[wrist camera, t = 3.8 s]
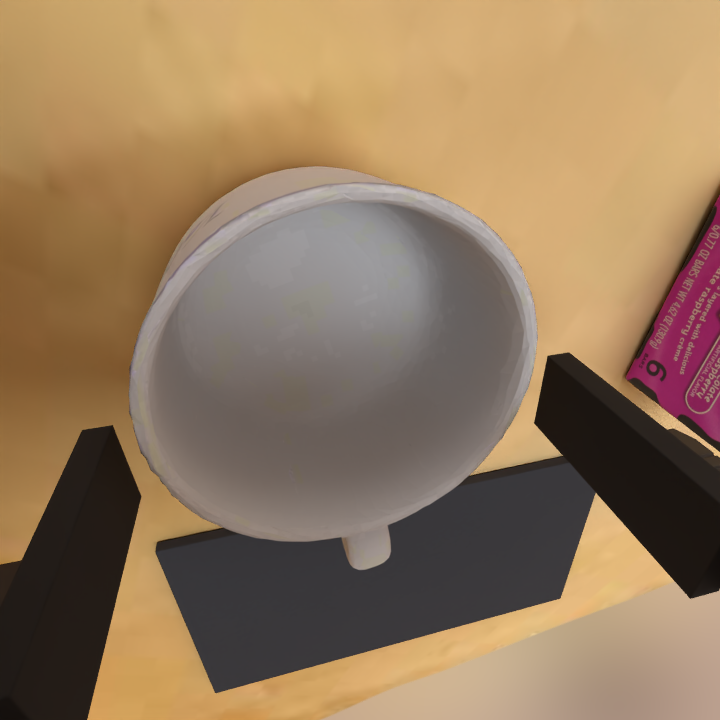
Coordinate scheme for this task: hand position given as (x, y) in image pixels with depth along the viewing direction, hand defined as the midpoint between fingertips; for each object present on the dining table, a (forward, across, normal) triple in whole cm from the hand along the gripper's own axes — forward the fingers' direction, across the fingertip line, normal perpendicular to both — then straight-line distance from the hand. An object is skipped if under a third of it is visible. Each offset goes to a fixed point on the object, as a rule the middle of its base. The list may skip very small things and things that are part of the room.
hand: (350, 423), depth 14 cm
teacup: (+7, 0, 0) cm, 7 cm away
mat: (+7, +4, -18) cm, 20 cm away
